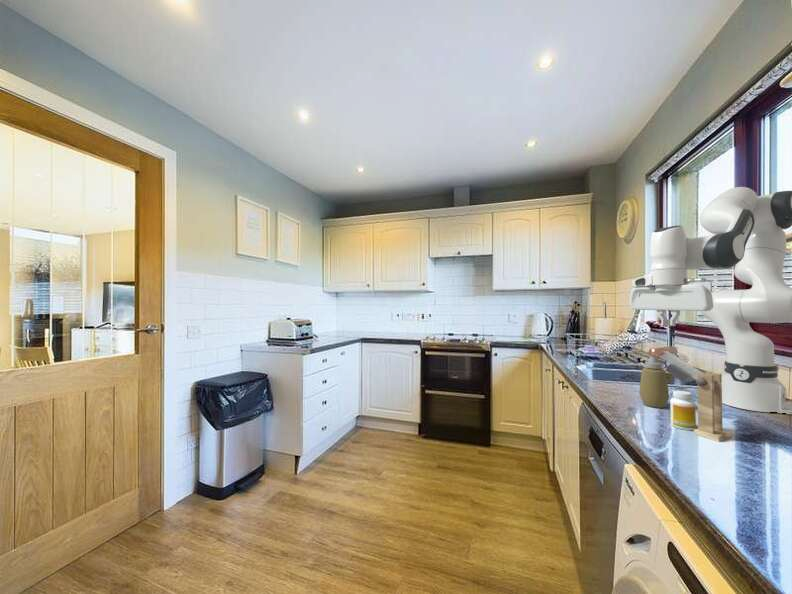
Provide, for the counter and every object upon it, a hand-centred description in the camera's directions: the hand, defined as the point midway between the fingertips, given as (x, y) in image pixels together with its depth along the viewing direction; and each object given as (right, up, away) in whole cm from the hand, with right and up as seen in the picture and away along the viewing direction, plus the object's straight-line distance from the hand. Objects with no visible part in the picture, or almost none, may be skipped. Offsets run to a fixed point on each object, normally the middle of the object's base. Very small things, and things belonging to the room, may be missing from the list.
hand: (668, 325), depth 100 cm
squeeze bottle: (+5, -28, +12) cm, 31 cm away
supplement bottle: (-2, -28, -7) cm, 29 cm away
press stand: (+1, -28, -12) cm, 30 cm away
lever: (-1, -13, -5) cm, 14 cm away
